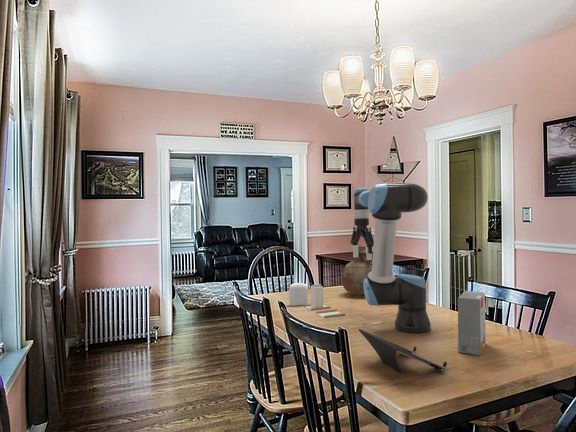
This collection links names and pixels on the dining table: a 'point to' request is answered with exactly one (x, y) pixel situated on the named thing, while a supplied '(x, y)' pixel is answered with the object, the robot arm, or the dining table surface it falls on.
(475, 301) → the hard drive box
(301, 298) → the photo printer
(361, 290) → the jug
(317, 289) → the white rectangular box
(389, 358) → the portable electronic device stand
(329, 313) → the dock board
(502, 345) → the dining table surface
